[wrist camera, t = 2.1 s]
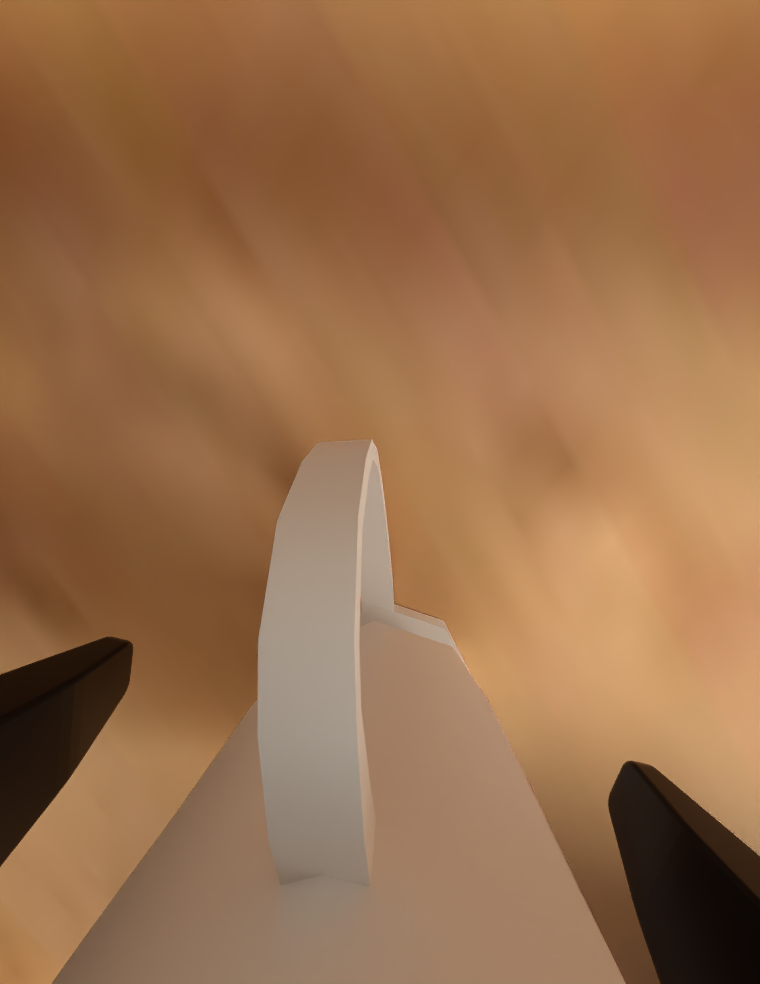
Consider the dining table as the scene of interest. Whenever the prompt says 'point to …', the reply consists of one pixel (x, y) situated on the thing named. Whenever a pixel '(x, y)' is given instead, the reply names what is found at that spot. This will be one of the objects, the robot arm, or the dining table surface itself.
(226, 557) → the dining table surface
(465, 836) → the cup
